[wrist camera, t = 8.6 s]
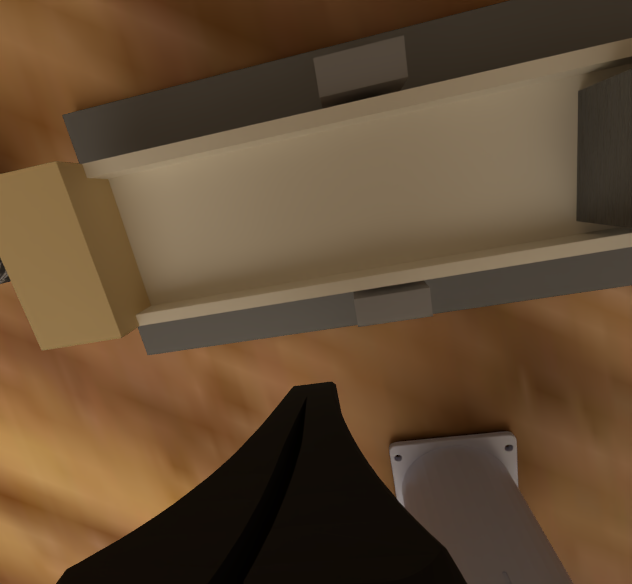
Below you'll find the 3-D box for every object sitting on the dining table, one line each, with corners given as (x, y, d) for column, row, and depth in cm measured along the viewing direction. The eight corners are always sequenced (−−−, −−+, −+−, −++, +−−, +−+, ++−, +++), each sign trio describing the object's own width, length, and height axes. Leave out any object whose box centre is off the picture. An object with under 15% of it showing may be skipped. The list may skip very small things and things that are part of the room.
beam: (719, 217, 14) (868, 228, 10) (112, 318, 18) (44, 355, 14) (744, 24, 12) (938, -56, 8) (59, 178, 16) (-37, 174, 12)
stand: (661, 273, 19) (817, 315, 12) (156, 348, 22) (85, 407, 16) (688, -36, 15) (931, -196, 9) (76, 118, 19) (-54, 84, 13)
